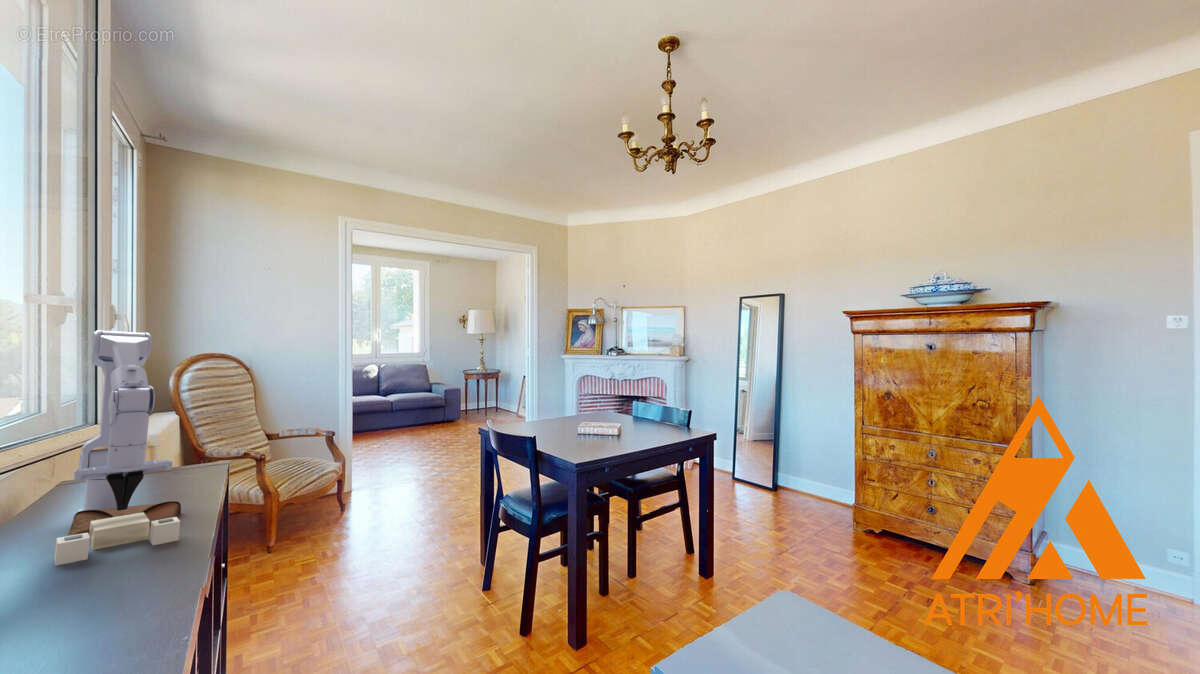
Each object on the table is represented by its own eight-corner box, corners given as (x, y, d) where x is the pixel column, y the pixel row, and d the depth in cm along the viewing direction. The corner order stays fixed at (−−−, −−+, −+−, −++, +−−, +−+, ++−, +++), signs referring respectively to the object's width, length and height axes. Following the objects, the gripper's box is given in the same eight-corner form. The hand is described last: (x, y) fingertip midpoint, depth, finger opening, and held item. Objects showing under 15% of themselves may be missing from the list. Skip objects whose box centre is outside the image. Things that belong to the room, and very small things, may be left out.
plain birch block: (88, 540, 97) (90, 520, 97) (141, 530, 103) (143, 512, 103) (92, 551, 92) (94, 530, 92) (148, 540, 98) (149, 521, 98)
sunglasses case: (61, 538, 96) (69, 506, 99) (67, 546, 100) (74, 515, 103) (178, 523, 107) (181, 494, 110) (178, 530, 112) (182, 502, 115)
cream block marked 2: (149, 540, 97) (151, 520, 98) (174, 535, 100) (176, 515, 101) (152, 545, 95) (154, 525, 95) (178, 540, 98) (180, 520, 98)
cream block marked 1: (54, 559, 87) (56, 536, 87) (85, 553, 90) (88, 531, 90) (55, 566, 85) (57, 542, 85) (87, 559, 88) (89, 537, 88)
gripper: (78, 451, 90) (71, 522, 89) (177, 442, 102) (171, 505, 101) (75, 446, 95) (68, 513, 94) (170, 438, 106) (165, 498, 105)
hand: (121, 509), depth 98 cm, fingers closed
